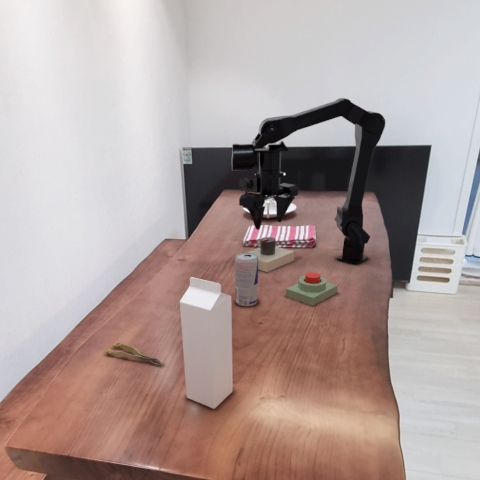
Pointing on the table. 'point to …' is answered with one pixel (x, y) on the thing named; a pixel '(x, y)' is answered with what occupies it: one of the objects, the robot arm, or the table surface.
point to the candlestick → (273, 205)
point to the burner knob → (267, 246)
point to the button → (312, 278)
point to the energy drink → (246, 279)
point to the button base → (311, 291)
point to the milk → (207, 342)
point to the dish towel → (282, 236)
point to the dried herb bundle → (132, 350)
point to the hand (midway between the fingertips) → (268, 225)
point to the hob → (273, 258)
